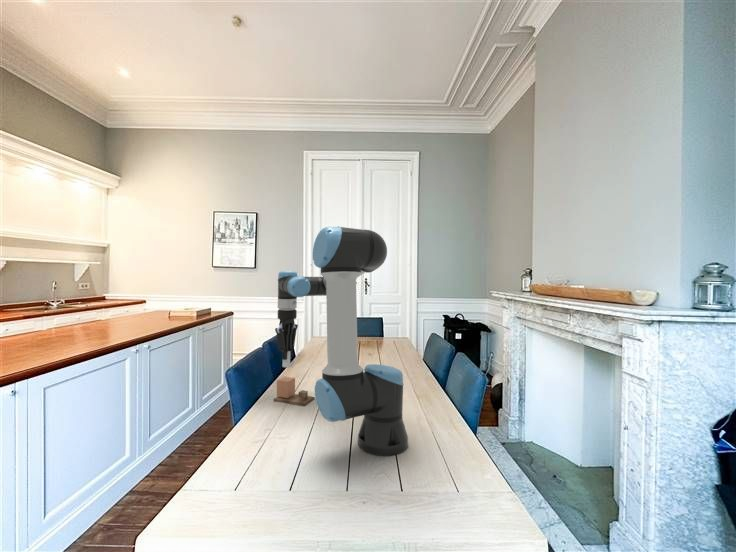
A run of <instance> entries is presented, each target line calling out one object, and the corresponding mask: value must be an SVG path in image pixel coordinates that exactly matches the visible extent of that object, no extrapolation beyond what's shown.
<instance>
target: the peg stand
mask: <svg viewBox="0 0 736 552" xmlns="http://www.w3.org/2000/svg"><path fill="white" fill-rule="evenodd" d="M313 401H316V398H315V396H310V395H309V393H308V390H303V389H302V390H299V391H298V393H295V394H294V395H292V396H290V397H289V398H284V397H278V396H276V397H274V398H273V402H277V403H284V404H288V405H294V406H298V407H299V406H302V407H306V406H308V405H309V404H310V403H311V402H313Z"/></svg>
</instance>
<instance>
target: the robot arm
mask: <svg viewBox="0 0 736 552" xmlns="http://www.w3.org/2000/svg"><path fill="white" fill-rule="evenodd" d="M387 256H388V247H387V243H386V241H385V240H384V237H382V236H381V235H380V234H379V233H377V232H376V231H374V230H370V229H361V228H360V229H359V228H353V227H346V226H345V227H344V226H326V227H325V226H324V227H322V229H320V230H319V232H318V233H317V235H316V237H315V240H314V243H313V248H312V260H313V264H314V266H315V267H316V268H319V269H320V275H321V276H300V275H299V276H298V272H297V271H293V270H291V271H289V270H287V271H286V270H285V271H283V270H280V271H279V272H278V278H277V309H278V310H277V319H278V320H279V323H278V327H275V328H274V329H275V334H276V338H277V347H278V351H280V352H282V353H281V355H282V356H281V357H282V358H281V359H282V364H281V365H282V366H281V367H282V368H291V354H292V353H291V352H292V351H294V348H295V345H296V344H295V343H296V335H297V330H298V327H299V325H298V324H296V323H295V320H296V319H297V316H298V315H297V304H298V302H297V300H298V298H302V297H313V296H317V297H320V296H321V297H322V296H323V297H324V296H326V340H327V341H326V344H327V345H326V346H327V347H326V349H327V350H326V353H327V354H326V355H327V359H326V360H327V364H326V366H325V367H324V368H323V369H322V370H321V372H322V373H321V374H322V378H319V379H317V380H316V382H315V385H314V397H315V401H316V405H317V408H318V411H319V412H320V415H321V416H322V418H323V419H324V420H326V422H327V421H328V422H330V423H334V422H344V421H346V420H350V419H353V418H358V417H361V416H363V419H362V422H361V425H360V428H359V431H358V435H357V445H358V447H359V448H360V449H361V450H362V451H364V452H366V453H368V454H371V455H375V456H383V457H384V456H385V457H387V456H388V457H389V456H394V455H399V454H401V453H403V452H404V451H406V450H407V448H408V446H409V437H408V432H407V429H406V425H405V423H404V419H403V404H404V403H403V399H404V398H403V397H404V396H403V395H404V377H403V372H402V371H401V370H400V369H398V368H397V367H394V366H390V365H385V364H373V363H372V364H367V365H365V366H364V368H363V366H361V365H360V364H359V359H358V358H359V356H358V317H357V316H358V314H357V313H358V312H357V311H358V309H357V307H358V306H357V280H358V278H359V277H361V276H362V275H364V274H365V273H368V274H369V273H373V272H374V271H376V270H378V269H379V268H380V267H381V266H382V265H383V264H384V263H385V261H386V259H387Z"/></svg>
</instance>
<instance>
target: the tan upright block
mask: <svg viewBox="0 0 736 552" xmlns="http://www.w3.org/2000/svg"><path fill="white" fill-rule="evenodd" d="M294 394H296V377H291V376H282V377H279V378H277V379H276V397H284V398H289V397H290V396H292V395H294Z"/></svg>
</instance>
